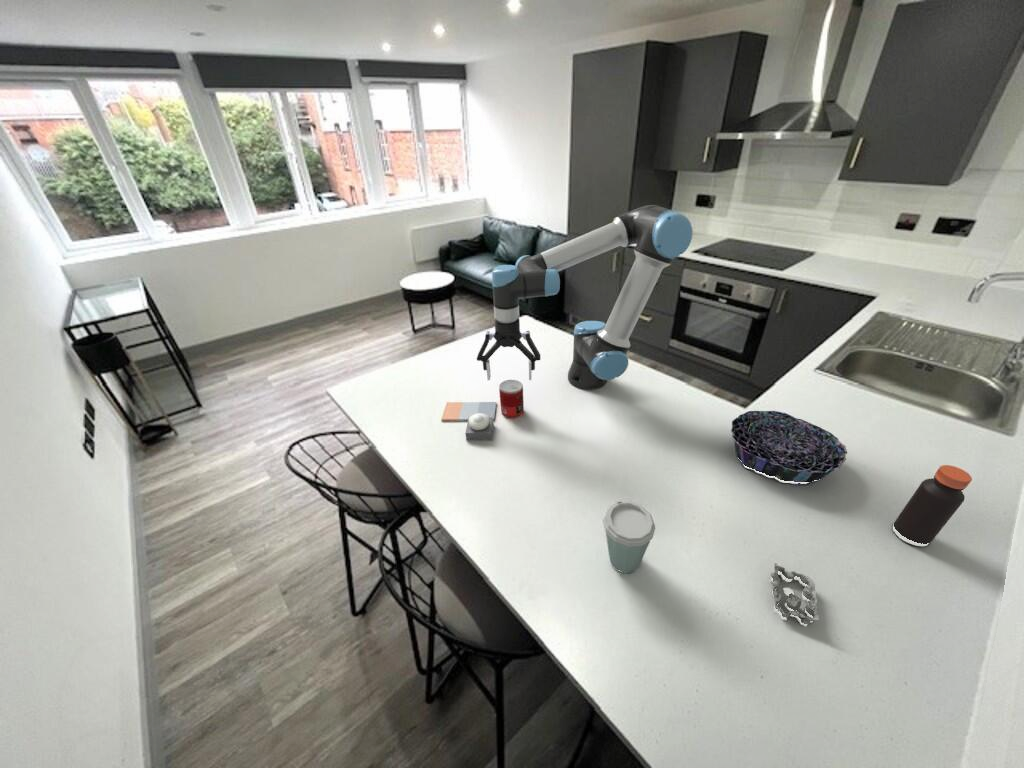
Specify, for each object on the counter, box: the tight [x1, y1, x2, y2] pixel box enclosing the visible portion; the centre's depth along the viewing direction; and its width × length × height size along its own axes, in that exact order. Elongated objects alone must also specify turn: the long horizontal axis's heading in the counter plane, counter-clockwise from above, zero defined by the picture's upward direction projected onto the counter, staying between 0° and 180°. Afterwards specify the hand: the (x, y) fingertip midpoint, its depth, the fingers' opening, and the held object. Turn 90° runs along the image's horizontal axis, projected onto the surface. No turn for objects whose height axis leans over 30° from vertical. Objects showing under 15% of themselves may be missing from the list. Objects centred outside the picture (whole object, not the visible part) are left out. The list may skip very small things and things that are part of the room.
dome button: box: [469, 413, 489, 430], centre depth 133 cm, size 6×6×6 cm
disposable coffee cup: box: [602, 499, 656, 573], centre depth 90 cm, size 11×11×15 cm
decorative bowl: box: [730, 410, 848, 483], centre depth 116 cm, size 26×28×10 cm
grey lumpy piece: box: [770, 563, 820, 625], centre depth 84 cm, size 11×8×4 cm
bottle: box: [893, 464, 973, 544], centre depth 90 cm, size 7×7×20 cm
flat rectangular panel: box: [440, 401, 497, 422], centre depth 144 cm, size 18×10×1 cm, turn 87°
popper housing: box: [465, 417, 494, 441], centre depth 134 cm, size 8×8×3 cm
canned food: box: [498, 379, 525, 419], centre depth 140 cm, size 8×8×11 cm
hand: (509, 378), depth 136 cm, fingers open, 13 cm apart
